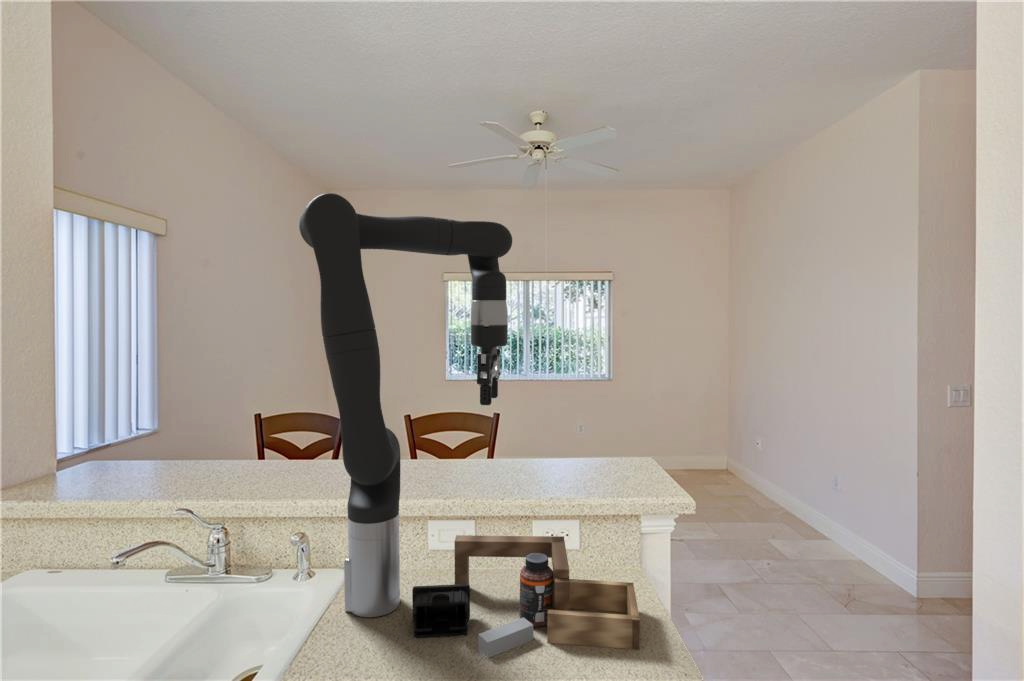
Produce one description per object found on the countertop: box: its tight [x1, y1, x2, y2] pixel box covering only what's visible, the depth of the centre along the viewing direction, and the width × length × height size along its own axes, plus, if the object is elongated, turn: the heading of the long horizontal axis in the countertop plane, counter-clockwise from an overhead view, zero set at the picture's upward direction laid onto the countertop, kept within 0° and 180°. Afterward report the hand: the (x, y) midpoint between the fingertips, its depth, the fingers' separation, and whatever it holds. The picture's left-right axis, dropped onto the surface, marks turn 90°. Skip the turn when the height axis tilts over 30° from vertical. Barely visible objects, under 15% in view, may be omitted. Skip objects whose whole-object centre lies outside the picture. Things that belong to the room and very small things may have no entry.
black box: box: [411, 583, 471, 640], centre depth 99 cm, size 10×7×7 cm
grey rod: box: [478, 617, 534, 659], centre depth 94 cm, size 9×3×3 cm, turn 124°
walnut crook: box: [454, 534, 571, 611], centre depth 105 cm, size 21×15×10 cm
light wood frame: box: [546, 578, 641, 650], centre depth 99 cm, size 15×12×5 cm
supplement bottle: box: [519, 553, 553, 628], centre depth 101 cm, size 6×6×11 cm
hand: (489, 401), depth 117 cm, fingers open, 8 cm apart
